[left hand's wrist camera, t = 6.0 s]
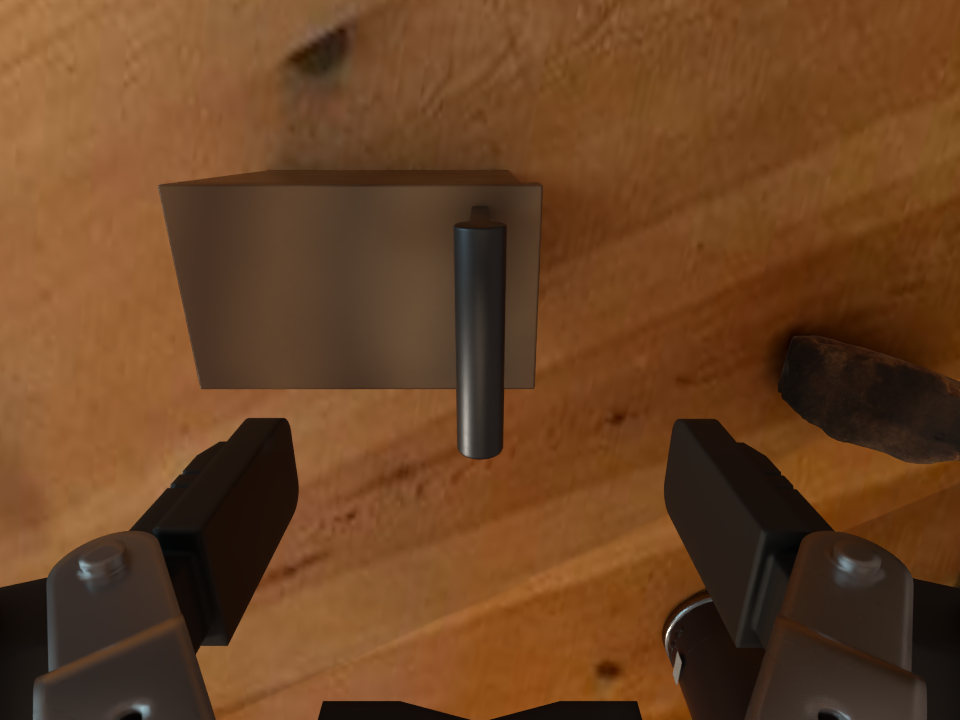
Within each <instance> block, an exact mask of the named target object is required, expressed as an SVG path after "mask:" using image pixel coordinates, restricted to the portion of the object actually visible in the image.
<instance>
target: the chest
mask: <svg viewBox="0 0 960 720" xmlns="http://www.w3.org/2000/svg"><path fill="white" fill-rule="evenodd" d="M177 183H521V182H520V181H519V180H518V179H517V178H516V177H515V176H514V175H513V174H511V173H510V172H509V171H508V170H267V171H260V172H252V173H245V174H237V175H229V176H222V177H214V178H207V179H199V180H191V181H184V182H177Z"/></svg>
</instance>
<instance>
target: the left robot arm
mask: <svg viewBox="0 0 960 720" xmlns="http://www.w3.org/2000/svg"><path fill="white" fill-rule="evenodd" d="M298 493H299V484H298V476H297V469H296V463H295V456H294V449H293V442H292V435H291V429H290V425H289V423H288V421H287V420H286V419H285V418H248V419H246V420H245V421H244V422H243V423H242V424H241V425H240V427H239V428H238V429H237V430H236V431H235V433H234V434H233V435H232V436H231V437H230V438H229V440H228V441H227V442H218V443H217V444H215V445H213V446H212V447H210V448H209V449H207V450H205V451H204V452H202V453H200V454H199V455H197V456H196V457H195V458H194V459H193V461H192V462H191V463H190V464H189V465H188V466H187V467H186V468H185V469H184V470H183V474H182V475H179V476H178V477H177V478H176V479H175V480H174V482H173V483H172V484H171V487H170V488H167V489H166V490H165V491H164V493H163V494H162V495H161V496H160V497H159V498H158V499H157V500H156V501H155V503H154V504H153V505H152V506H151V507H150V508H149V509H148V510H147V511H146V512H145V514H144V515H143V516H142V517H141V518H140V519H139V520H138V521H137V522H136V524H135V525H134V526H133V527H132V528H131V529H130V530H129V531H124V532H118V533H113V534H109V535H106V536H102V537H100V538H97V539H94V540H92V541H90V542H88V543H86V544H83V545H82V546H80V547H78V548H76V549H75V550H73V551H72V552H70V553H69V554H67V555H66V556H65V557H64V558H62V559H61V560H60V561H59V562H58V563H57V564H56V565H55V566H54V567H53V569H52V570H51V572H50V573H49V576H48V578H43V579H39V580H34V581H29V582H24V583H20V584H15V585H10V586H6V587H1V588H0V720H216V719H215V716H214V712H213V709H212V706H211V703H210V700H209V696H208V693H207V690H206V687H205V684H204V680H203V677H202V674H201V671H200V668H199V664H198V661H197V658H196V653H197V651H198V649H199V648H200V646H228V644H229V642H230V640H231V638H232V636H233V634H234V632H235V630H236V628H237V626H238V624H239V622H240V620H241V618H242V616H243V614H244V612H245V610H246V608H247V606H248V604H249V602H250V600H251V598H252V596H253V594H254V592H255V590H256V588H257V586H258V584H259V582H260V580H261V578H262V576H263V574H264V572H265V570H266V568H267V566H268V564H269V562H270V560H271V558H272V556H273V554H274V552H275V550H276V548H277V546H278V544H279V542H280V540H281V538H282V536H283V534H284V532H285V530H286V528H287V526H288V525H289V523H290V521H291V519H292V517H293V515H294V512H295V510H296V506H297V501H298ZM664 497H665V504H666V508H667V511H668V514H669V516H670V518H671V520H672V522H673V524H674V526H675V528H676V530H677V532H678V534H679V536H680V538H681V540H682V542H683V544H684V545H685V547H686V549H687V551H688V553H689V555H690V557H691V559H692V561H693V563H694V565H695V567H696V569H697V571H698V573H699V575H700V577H701V579H702V581H703V583H704V585H705V587H706V589H707V591H706V592H703V593H700V594H697V595H695V596H693V597H691V598H689V599H687V600H686V601H684V602H683V603H681V604H680V605H679V606H677V607H676V608H675V609H674V610H673V611H672V613H671V614H670V615H669V617H668V618H667V620H666V622H665V624H664V627H663V632H662V639H663V644H664V647H665V649H666V652H667V655H668V657H669V659H670V661H671V664H672V667H673V668H674V671H673V676H674V679H675V682H676V685H677V684H678V681H679V684H680V687H681V690H682V693H683V695H684V698H685V701H686V704H687V706H688V709H689V712H690V714H691V717H692V720H960V587H959V588H955V587H950V586H946V585H941V584H936V583H932V582H927V581H922V580H918V579H914V578H912V576H911V573H910V572H909V570H908V569H907V567H906V566H905V565H904V564H903V563H902V562H901V561H900V560H899V559H898V558H896V557H895V556H894V555H893V554H891V553H890V552H888V551H887V550H885V549H884V548H882V547H880V546H878V545H877V544H874V543H872V542H870V541H868V540H866V539H863V538H860V537H858V536H854V535H851V534H847V533H842V532H836V531H834V530H833V529H832V528H831V527H830V526H829V525H828V523H827V522H826V521H825V520H824V519H823V518H822V517H821V516H820V515H819V514H818V512H817V511H816V510H815V509H814V508H813V507H812V506H811V505H810V504H809V503H808V502H807V500H806V499H805V498H804V497H803V496H802V495H801V494H800V493H799V492H798V491H797V489H793V485H792V484H791V483H790V482H789V481H788V480H787V479H786V477H785V476H781V472H780V471H779V470H778V469H777V468H776V466H775V465H774V464H773V463H772V462H771V461H770V460H769V459H768V458H767V457H766V456H765V455H763V454H762V453H760V452H758V451H757V450H755V449H753V448H752V447H750V446H748V445H747V444H745V443H737V442H736V441H735V440H734V439H733V438H732V437H731V435H730V434H729V433H728V432H727V431H726V430H725V428H724V427H723V426H722V425H721V424H720V422H719V421H718V420H716V419H677V420H676V422H675V423H674V426H673V430H672V436H671V442H670V449H669V456H668V462H667V469H666V476H665V483H664ZM318 720H469V719H465V718H462V717H458V716H454V715H450V714H446V713H443V712H439V711H435V710H431V709H428V708H424V707H420V706H416V705H413V704H409V703H405V702H401V701H323V703H322V707H321V710H320V714H319V717H318ZM491 720H642V717H641V714H640V710H639V707H638V703H637V701H559V702H555V703H551V704H547V705H544V706H540V707H536V708H532V709H529V710H525V711H521V712H517V713H514V714H510V715H506V716H502V717H498V718H495V719H491Z"/></svg>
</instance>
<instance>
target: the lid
mask: <svg viewBox="0 0 960 720" xmlns="http://www.w3.org/2000/svg"><path fill="white" fill-rule="evenodd" d="M158 188H159V193H160V198H161V203H162V207H163V212H164V217H165V222H166V226H167V231H168V236H169V241H170V245H171V250H172V255H173V260H174V265H175V269H176V274H177V279H178V284H179V288H180V293H181V298H182V303H183V307H184V312H185V317H186V322H187V326H188V331H189V336H190V341H191V345H192V350H193V355H194V360H195V364H196V369H197V374H198V379H199V383H200V388H201V389H456V398H457V448H458V450H459V452H460V453H461V454H462V455H464V456H466V457H468V458H471V459H489V458H492V457H495V456H497V455H498V454H499V453H500V452H501V451H502V449H503V421H504V389H534V387H535V366H536V341H537V317H538V293H539V268H540V244H541V219H542V195H543V186H542V185H541V184H540V183H169V184H161V185H159V186H158Z"/></svg>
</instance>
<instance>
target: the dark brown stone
mask: <svg viewBox="0 0 960 720" xmlns="http://www.w3.org/2000/svg"><path fill="white" fill-rule="evenodd" d="M778 391H779V392H780V393H782V395H781V396H782V399H783V400H785V401H786V402H787V403H788V404H789V405H790V406H791V407H792V408H793V409H794V410H795V411H796V412H797V413H798V414H799V415H801V417H802V418H803V419H806V420H807V421H808V422H809V423H811V424H813V425H816V426H818V427H820V428H821V429H822V430H823V431H824V432H825V433H826V434H827V435H828V436H830V437H831V438H834V439H836V440H838V441H841V442H848V443H852V444H855V445H859V446H862V447H866V448H870V449H874V450H878V451H881V452H884V453H887V454H889V455H891V456H893V457H895V458H897V459H900V460H902V461H905V462H910V463H916V464H933V463H937V462H942V461H957V460H958V461H960V382H959V381H956V380H954V379H951V378H949V377H946V376H944V375H942V374H939V373H936V372H933V371H931V370H929V369H928V368H925V367H922V366H918V365H914V364H912V363H909V362H907V361H905V360H902V359H900V358H896V357H892V356H889V355H886V354H884V353H880V352H876V351H873V350H870V349H867V348H863V347H859V346H855V345H851V344H846V343H843V342H840V341H837V340H834V339H830V338H826V337H822V336H817V335H808V336H793V338H792V340H791V343H790V346H789V349H788V353H787V356H786V359H785V362H784V366H783V369H782V373H781V376H780V381H779V382H778Z"/></svg>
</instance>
